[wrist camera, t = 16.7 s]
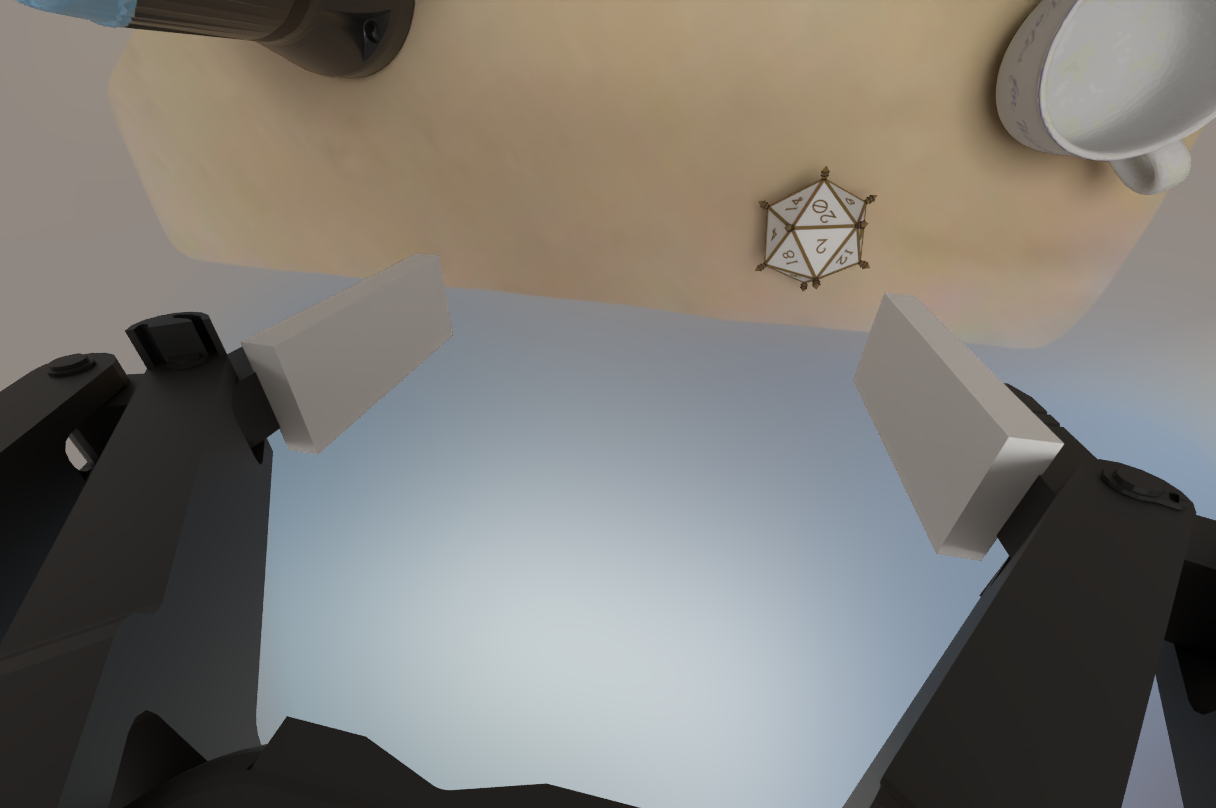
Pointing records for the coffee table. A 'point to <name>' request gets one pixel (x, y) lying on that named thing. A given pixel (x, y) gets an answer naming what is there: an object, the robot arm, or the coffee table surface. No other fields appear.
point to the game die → (815, 232)
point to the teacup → (1113, 84)
